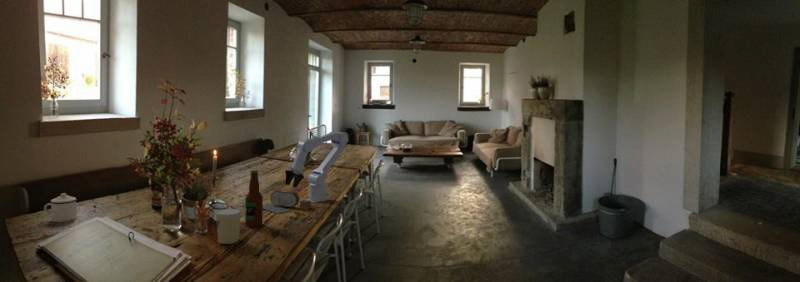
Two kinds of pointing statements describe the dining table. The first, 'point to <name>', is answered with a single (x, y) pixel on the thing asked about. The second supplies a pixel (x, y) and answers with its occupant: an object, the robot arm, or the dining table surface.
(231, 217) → the coffee cup
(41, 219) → the dining table surface
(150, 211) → the dining table surface
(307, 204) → the walnut block
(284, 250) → the dining table surface
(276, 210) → the mat
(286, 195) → the tin
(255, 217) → the bottle
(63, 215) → the teacup with lid
